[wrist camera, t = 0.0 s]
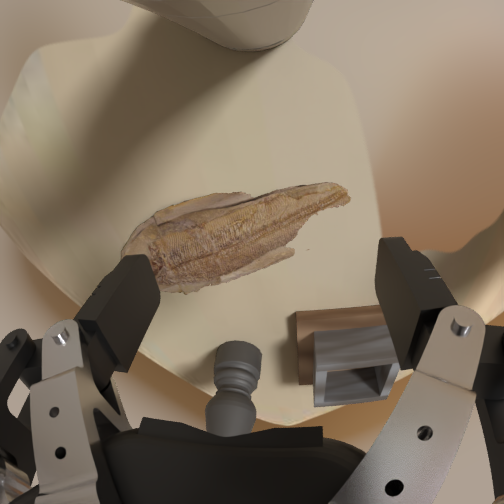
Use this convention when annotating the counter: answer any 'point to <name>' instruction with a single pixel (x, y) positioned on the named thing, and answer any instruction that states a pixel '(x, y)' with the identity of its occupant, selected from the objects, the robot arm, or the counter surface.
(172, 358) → the counter surface
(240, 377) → the candle holder
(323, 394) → the collar socket
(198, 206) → the fish fossil
